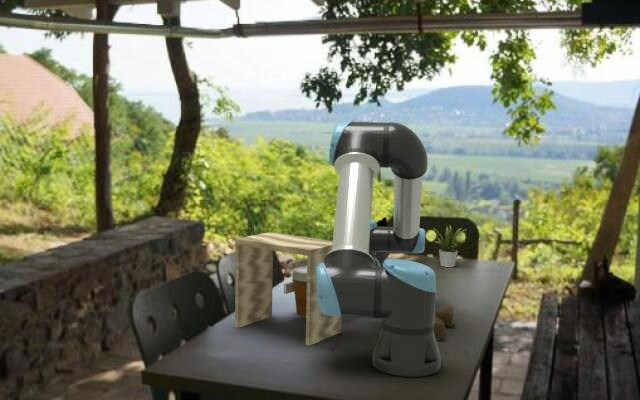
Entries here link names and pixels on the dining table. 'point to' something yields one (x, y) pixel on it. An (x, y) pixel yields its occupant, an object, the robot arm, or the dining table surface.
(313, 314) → the plywood stool
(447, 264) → the house plant
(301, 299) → the disposable coffee cup
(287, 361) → the dining table surface
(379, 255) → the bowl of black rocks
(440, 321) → the kendama
